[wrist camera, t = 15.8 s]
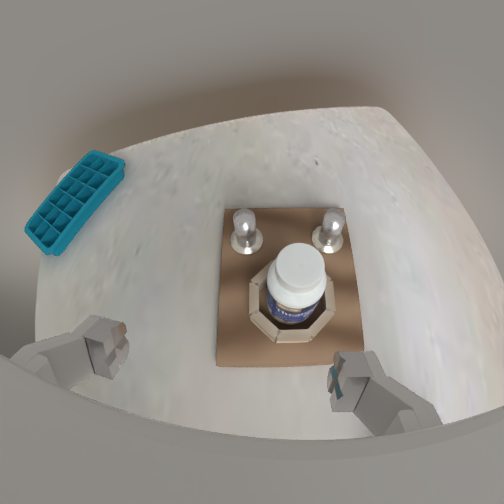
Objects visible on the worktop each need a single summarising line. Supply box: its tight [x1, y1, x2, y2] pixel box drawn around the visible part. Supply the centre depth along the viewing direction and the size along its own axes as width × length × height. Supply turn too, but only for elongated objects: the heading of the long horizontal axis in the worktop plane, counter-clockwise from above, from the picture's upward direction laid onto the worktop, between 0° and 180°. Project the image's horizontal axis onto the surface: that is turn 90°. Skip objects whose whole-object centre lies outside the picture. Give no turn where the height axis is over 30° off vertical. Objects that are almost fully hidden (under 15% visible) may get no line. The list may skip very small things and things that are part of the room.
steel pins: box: [230, 208, 346, 256], centre depth 32 cm, size 4×14×5 cm, turn 90°
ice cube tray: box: [25, 150, 125, 256], centre depth 40 cm, size 12×20×3 cm, turn 151°
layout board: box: [216, 208, 364, 367], centre depth 32 cm, size 20×16×3 cm
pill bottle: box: [267, 243, 327, 325], centre depth 26 cm, size 5×5×10 cm
